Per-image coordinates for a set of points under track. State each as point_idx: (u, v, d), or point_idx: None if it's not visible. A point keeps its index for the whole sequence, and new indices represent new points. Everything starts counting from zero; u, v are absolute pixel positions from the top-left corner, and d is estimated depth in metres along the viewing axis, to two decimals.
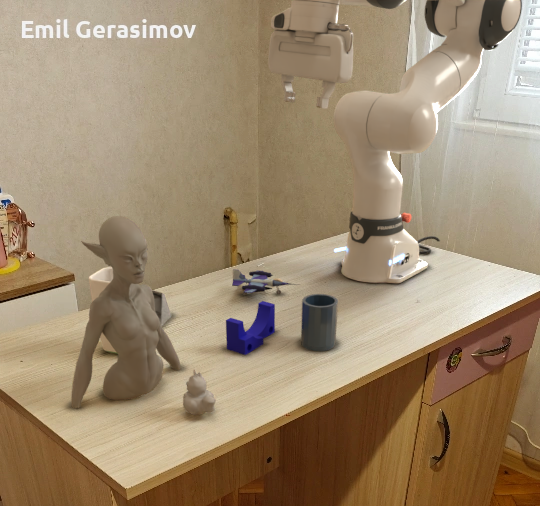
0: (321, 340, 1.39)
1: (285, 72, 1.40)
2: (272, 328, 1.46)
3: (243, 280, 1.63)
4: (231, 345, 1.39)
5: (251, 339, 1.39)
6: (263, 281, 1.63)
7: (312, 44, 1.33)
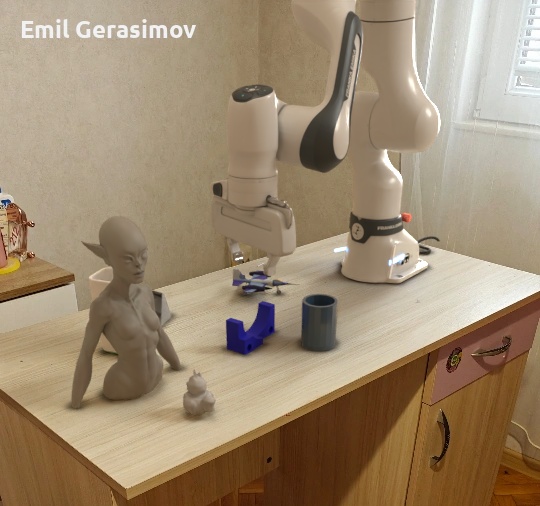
0: (321, 340, 1.39)
1: (229, 236, 1.34)
2: (272, 328, 1.46)
3: (243, 280, 1.63)
4: (231, 345, 1.39)
5: (251, 339, 1.39)
6: (263, 281, 1.63)
7: (253, 216, 1.27)
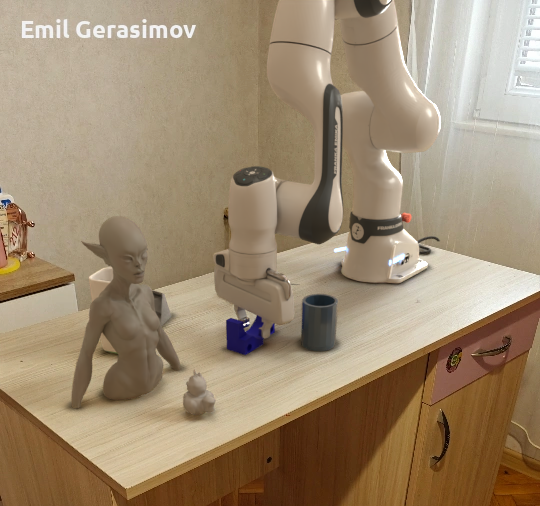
0: (321, 340, 1.39)
1: (231, 302, 1.41)
2: (272, 328, 1.46)
3: None
4: (231, 345, 1.39)
5: (252, 339, 1.39)
6: None
7: (253, 286, 1.34)
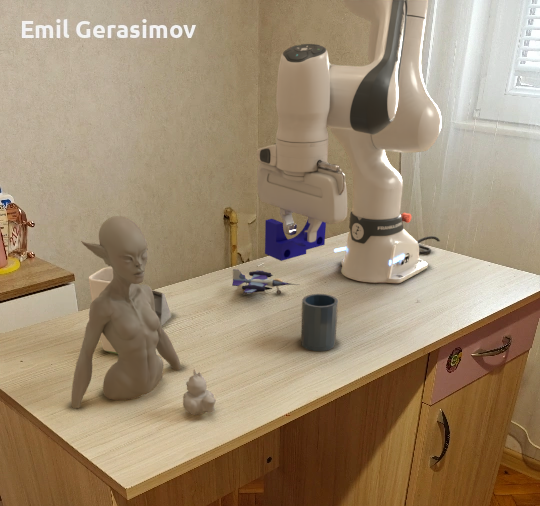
0: (321, 340, 1.39)
1: (276, 204, 1.30)
2: (322, 239, 1.34)
3: (243, 280, 1.63)
4: (269, 249, 1.29)
5: (291, 244, 1.27)
6: (263, 281, 1.63)
7: (302, 182, 1.23)
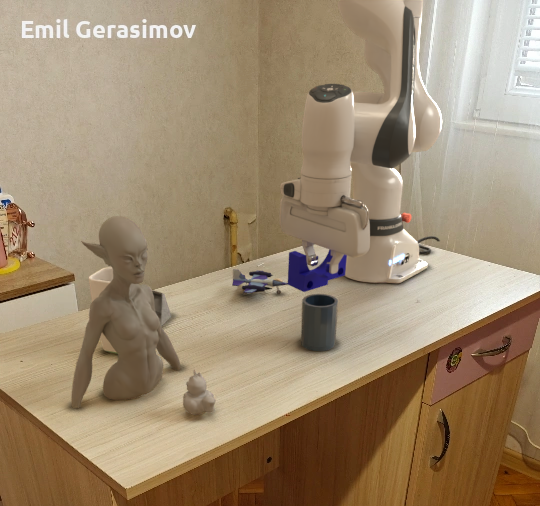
0: (321, 340, 1.39)
1: (298, 236, 1.33)
2: (342, 270, 1.37)
3: (243, 280, 1.63)
4: (292, 280, 1.32)
5: (313, 276, 1.30)
6: (263, 281, 1.63)
7: (325, 216, 1.26)
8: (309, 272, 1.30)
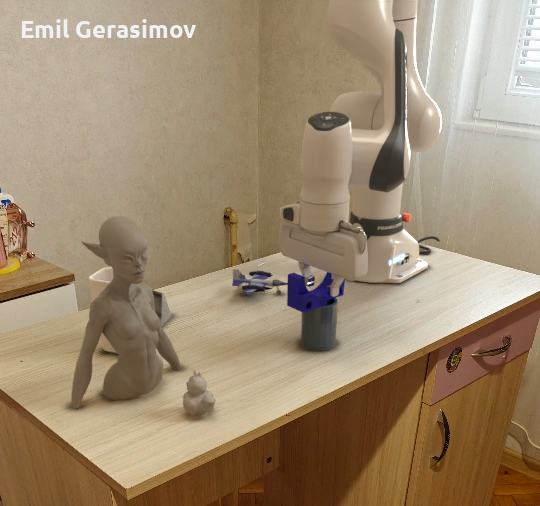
0: (321, 340, 1.39)
1: (298, 259, 1.35)
2: (341, 290, 1.39)
3: (243, 280, 1.63)
4: (291, 301, 1.34)
5: (312, 296, 1.32)
6: (263, 281, 1.63)
7: (324, 240, 1.28)
8: (308, 293, 1.32)
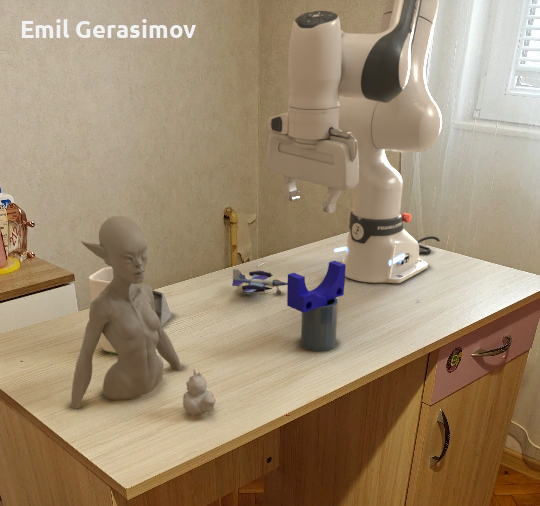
0: (321, 340, 1.39)
1: (287, 174, 1.31)
2: (341, 290, 1.39)
3: (243, 280, 1.63)
4: (291, 301, 1.34)
5: (312, 296, 1.32)
6: (263, 281, 1.63)
7: (314, 150, 1.24)
8: (308, 293, 1.32)
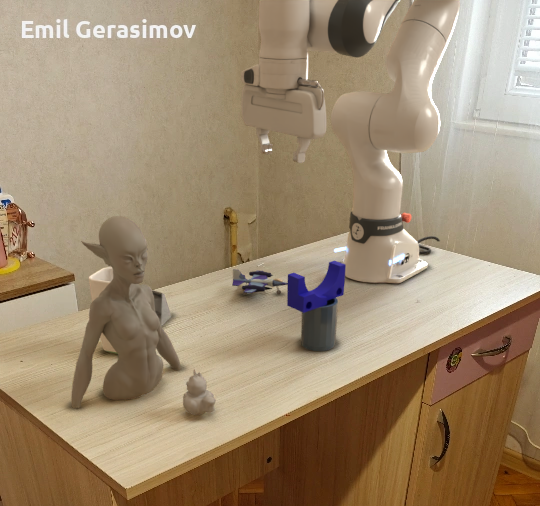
0: (321, 340, 1.39)
1: (259, 126, 1.37)
2: (341, 290, 1.39)
3: (243, 280, 1.63)
4: (291, 301, 1.34)
5: (312, 296, 1.32)
6: (263, 281, 1.63)
7: (283, 100, 1.30)
8: (308, 293, 1.32)
